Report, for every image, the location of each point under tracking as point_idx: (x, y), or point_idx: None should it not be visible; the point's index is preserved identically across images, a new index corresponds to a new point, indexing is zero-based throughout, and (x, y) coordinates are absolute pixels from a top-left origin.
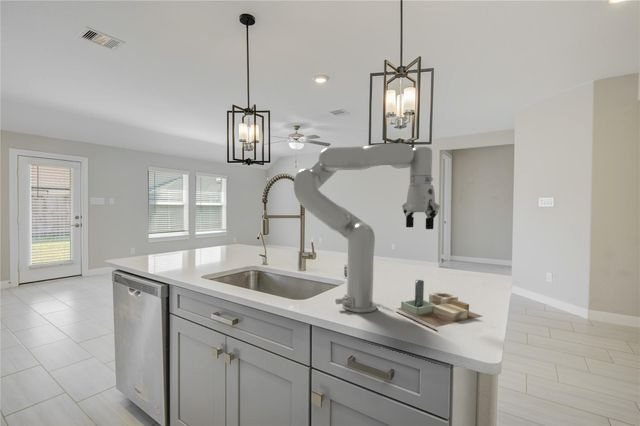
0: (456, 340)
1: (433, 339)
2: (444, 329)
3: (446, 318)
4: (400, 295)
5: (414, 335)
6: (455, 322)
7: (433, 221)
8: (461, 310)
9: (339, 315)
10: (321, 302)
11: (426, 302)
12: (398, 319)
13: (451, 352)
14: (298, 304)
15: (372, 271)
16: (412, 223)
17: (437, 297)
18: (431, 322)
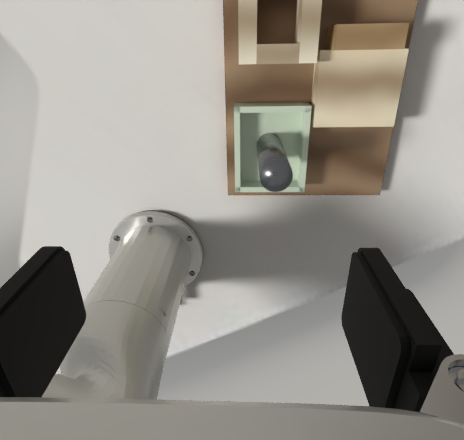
0: (433, 186)
1: (397, 227)
2: None
3: None
4: (72, 44)
5: (359, 247)
6: None
7: (436, 330)
8: (396, 73)
9: (193, 313)
10: None
11: (269, 112)
12: (271, 217)
13: (453, 240)
14: None
15: (161, 307)
16: (48, 286)
17: (281, 63)
18: (354, 184)
